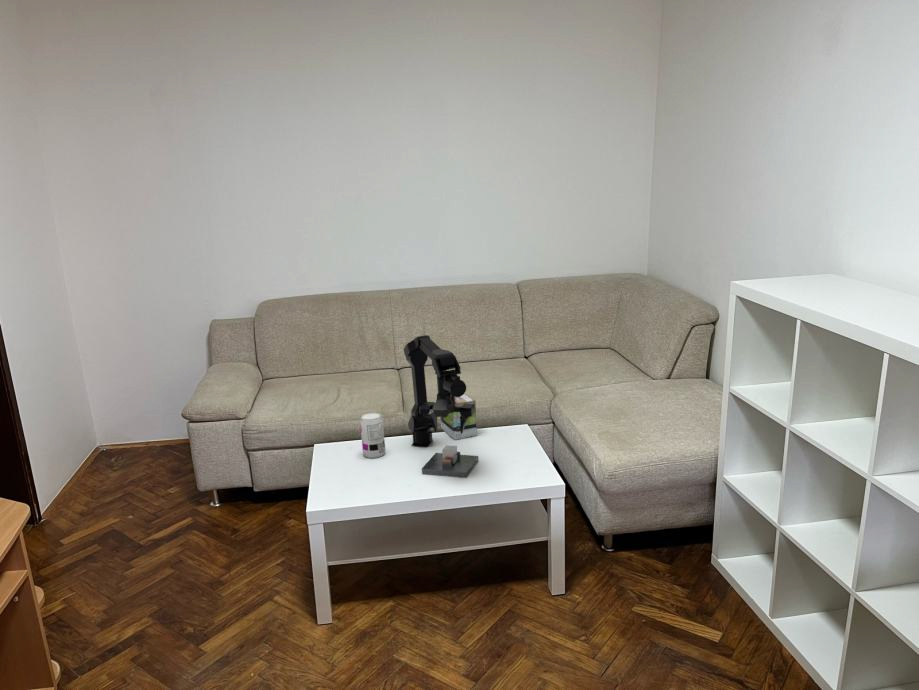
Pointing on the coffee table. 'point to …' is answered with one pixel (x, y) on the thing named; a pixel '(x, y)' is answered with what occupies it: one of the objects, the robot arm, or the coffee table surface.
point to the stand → (450, 465)
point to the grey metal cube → (450, 453)
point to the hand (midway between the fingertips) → (449, 432)
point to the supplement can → (372, 435)
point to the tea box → (453, 421)
